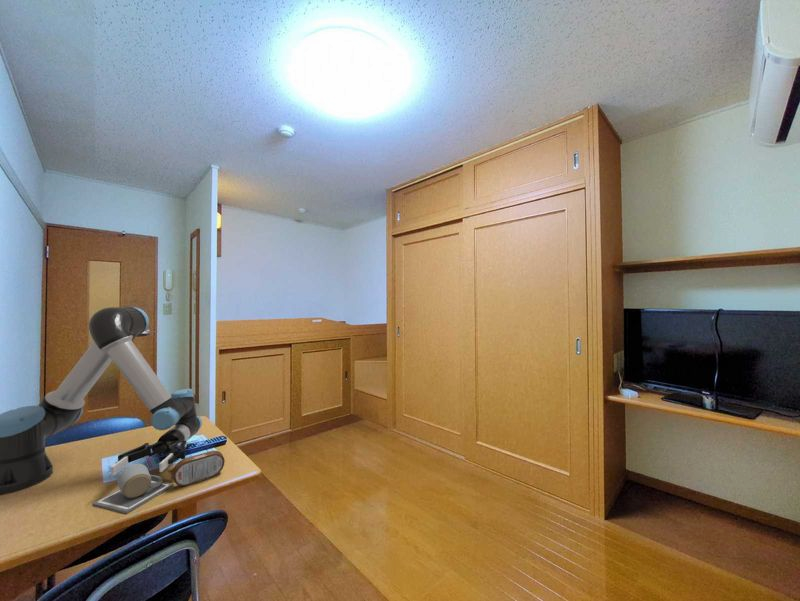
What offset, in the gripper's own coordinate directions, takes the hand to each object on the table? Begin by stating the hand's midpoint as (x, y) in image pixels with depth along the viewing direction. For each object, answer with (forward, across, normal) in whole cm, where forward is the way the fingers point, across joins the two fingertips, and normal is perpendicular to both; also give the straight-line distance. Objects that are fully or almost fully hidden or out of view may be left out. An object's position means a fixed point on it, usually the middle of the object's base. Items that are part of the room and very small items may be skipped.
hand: (136, 469), depth 100 cm
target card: (0, 0, -8) cm, 8 cm away
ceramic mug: (-1, -1, -7) cm, 7 cm away
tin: (-6, -16, -8) cm, 18 cm away
